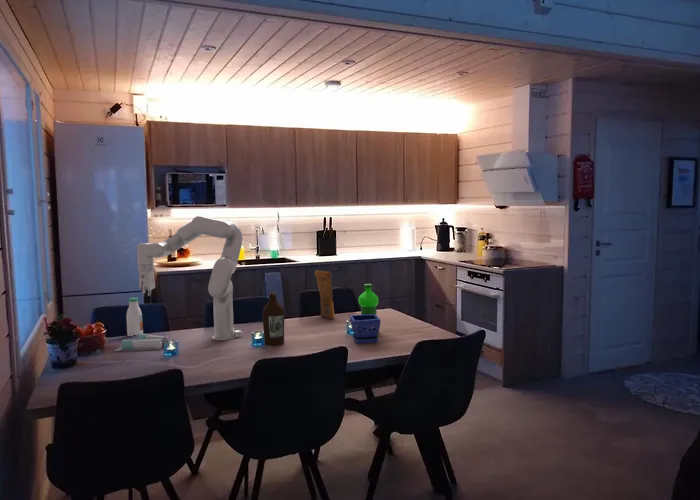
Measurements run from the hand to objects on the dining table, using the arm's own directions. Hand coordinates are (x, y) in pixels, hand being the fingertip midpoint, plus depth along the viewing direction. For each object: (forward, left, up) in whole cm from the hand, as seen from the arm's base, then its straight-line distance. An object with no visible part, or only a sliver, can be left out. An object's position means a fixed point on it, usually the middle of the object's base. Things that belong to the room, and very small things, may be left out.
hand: (147, 303), depth 279 cm
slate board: (-4, +13, -19) cm, 23 cm away
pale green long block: (-5, +20, -18) cm, 27 cm away
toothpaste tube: (-6, +12, -18) cm, 22 cm away
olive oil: (-65, +16, -19) cm, 70 cm away
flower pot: (-109, +16, -19) cm, 112 cm away
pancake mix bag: (-89, -48, -19) cm, 103 cm away
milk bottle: (+12, -13, -19) cm, 26 cm away
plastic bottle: (-112, -3, -19) cm, 114 cm away
